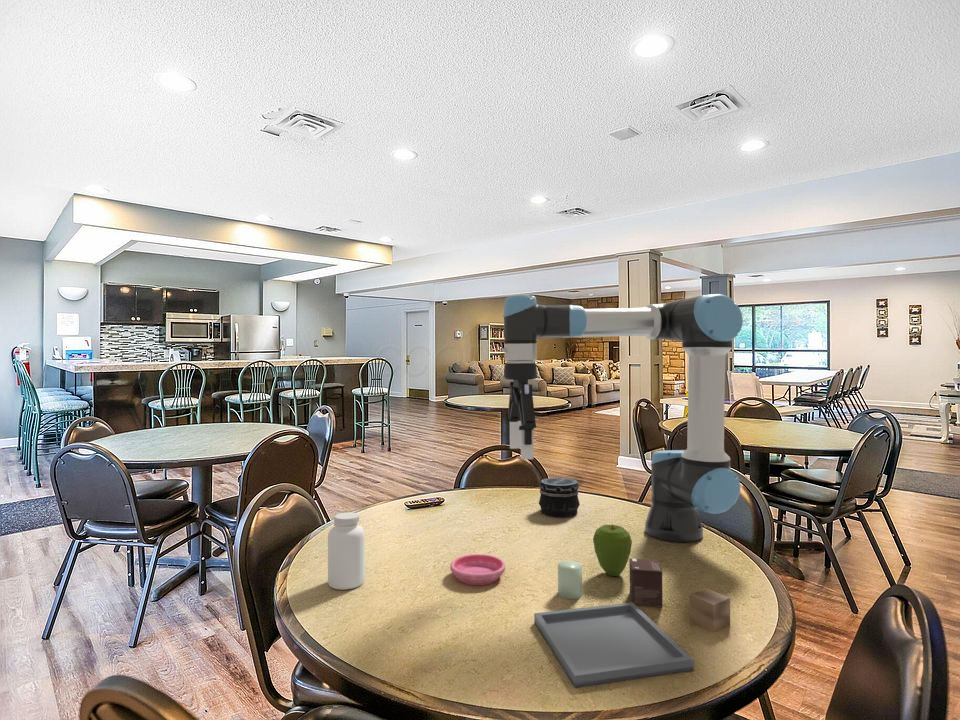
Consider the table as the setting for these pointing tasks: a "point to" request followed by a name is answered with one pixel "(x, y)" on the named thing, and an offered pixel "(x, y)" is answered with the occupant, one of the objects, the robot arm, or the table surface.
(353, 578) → the pill bottle
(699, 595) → the walnut block
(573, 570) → the sage canister
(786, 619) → the table surface
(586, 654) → the tray
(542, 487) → the container
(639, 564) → the box
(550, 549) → the table surface
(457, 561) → the pink shallow round dish
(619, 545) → the apple
